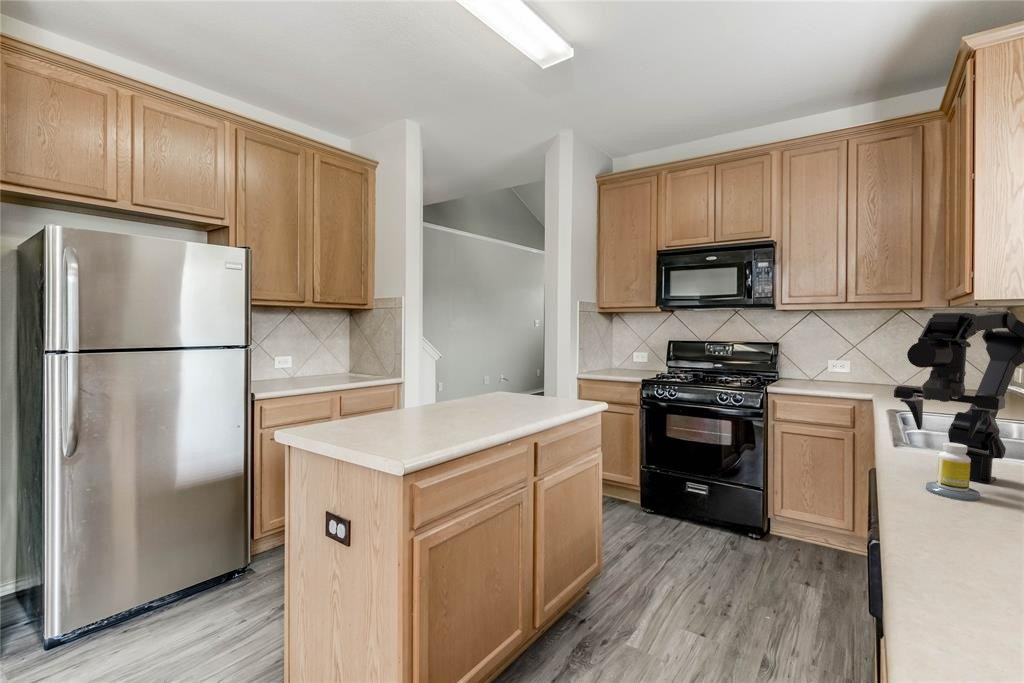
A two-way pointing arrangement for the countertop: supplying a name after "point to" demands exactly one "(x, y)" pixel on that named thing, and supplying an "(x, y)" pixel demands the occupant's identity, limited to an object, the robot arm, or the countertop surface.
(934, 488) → the dish
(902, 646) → the countertop surface
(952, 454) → the supplement bottle
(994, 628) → the countertop surface
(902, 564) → the countertop surface
